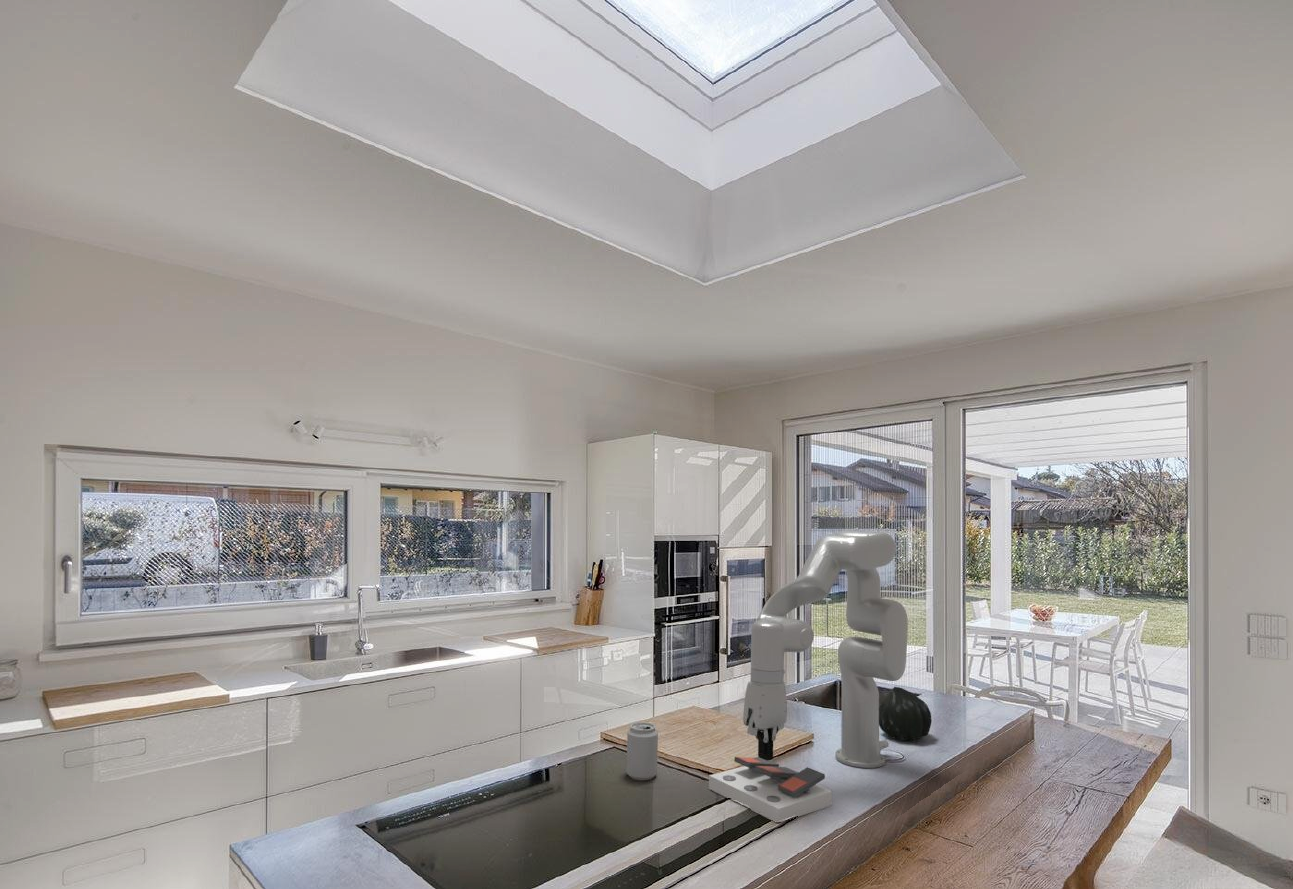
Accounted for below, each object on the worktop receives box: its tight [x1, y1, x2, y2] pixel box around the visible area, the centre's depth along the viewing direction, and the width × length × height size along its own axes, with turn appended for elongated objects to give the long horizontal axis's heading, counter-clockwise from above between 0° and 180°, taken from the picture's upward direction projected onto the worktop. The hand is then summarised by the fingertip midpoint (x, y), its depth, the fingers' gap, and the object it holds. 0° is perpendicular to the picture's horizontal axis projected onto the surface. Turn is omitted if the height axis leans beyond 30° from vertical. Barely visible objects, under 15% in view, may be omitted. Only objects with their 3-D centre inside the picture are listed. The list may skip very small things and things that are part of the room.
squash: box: [879, 686, 932, 742], centre depth 213 cm, size 14×15×15 cm
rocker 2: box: [777, 766, 826, 797], centre depth 164 cm, size 10×5×1 cm, turn 126°
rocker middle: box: [755, 766, 800, 778], centre depth 169 cm, size 10×5×1 cm, turn 126°
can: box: [625, 721, 659, 781], centre depth 178 cm, size 8×8×12 cm
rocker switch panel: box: [708, 765, 833, 822], centre depth 167 cm, size 17×22×4 cm
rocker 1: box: [733, 756, 780, 768], centre depth 175 cm, size 10×5×1 cm, turn 126°
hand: (765, 758), depth 167 cm, fingers closed
